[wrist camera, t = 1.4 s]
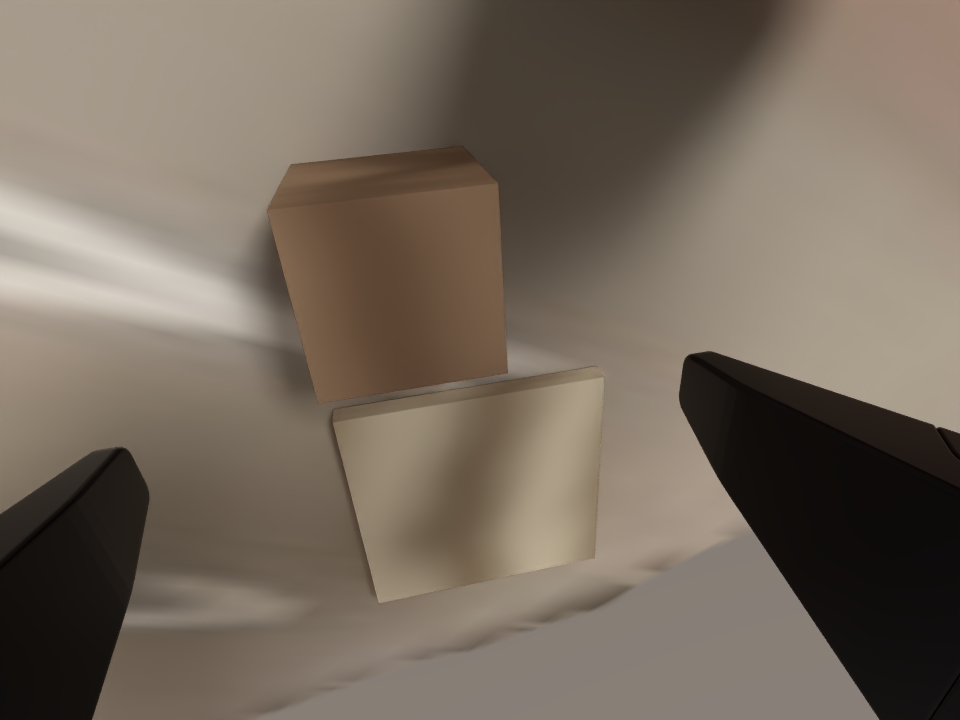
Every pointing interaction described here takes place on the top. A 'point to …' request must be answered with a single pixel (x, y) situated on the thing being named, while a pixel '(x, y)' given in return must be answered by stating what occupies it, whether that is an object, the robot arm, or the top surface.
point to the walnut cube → (393, 270)
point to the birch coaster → (475, 480)
